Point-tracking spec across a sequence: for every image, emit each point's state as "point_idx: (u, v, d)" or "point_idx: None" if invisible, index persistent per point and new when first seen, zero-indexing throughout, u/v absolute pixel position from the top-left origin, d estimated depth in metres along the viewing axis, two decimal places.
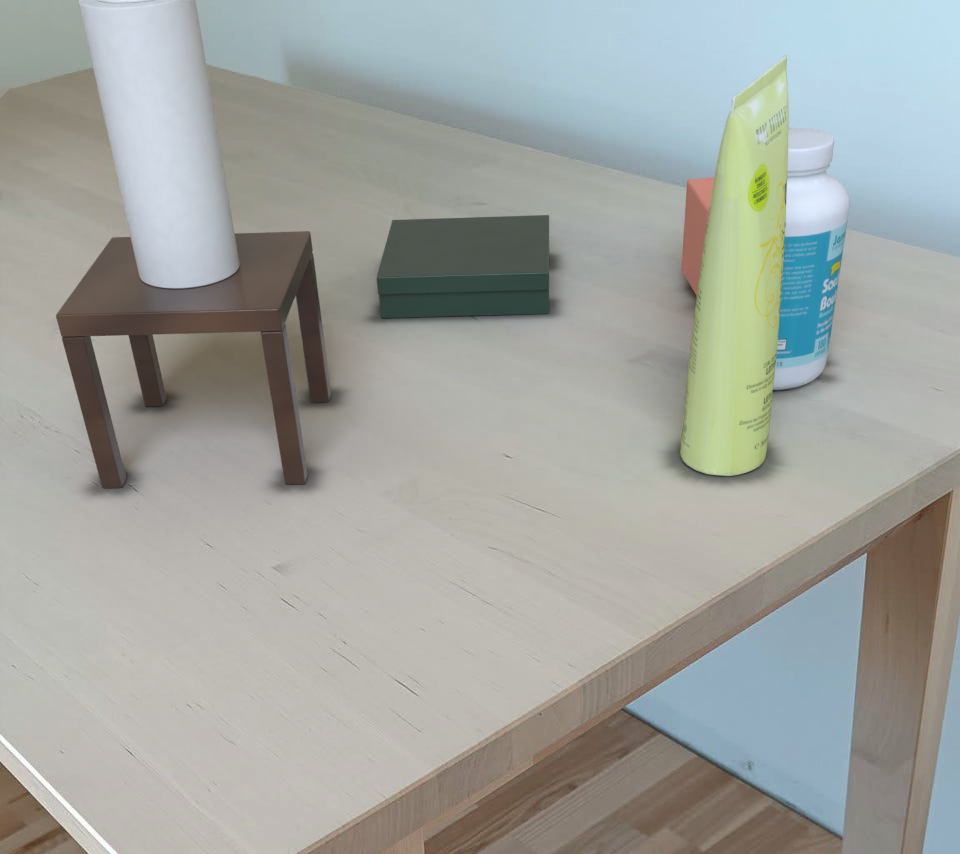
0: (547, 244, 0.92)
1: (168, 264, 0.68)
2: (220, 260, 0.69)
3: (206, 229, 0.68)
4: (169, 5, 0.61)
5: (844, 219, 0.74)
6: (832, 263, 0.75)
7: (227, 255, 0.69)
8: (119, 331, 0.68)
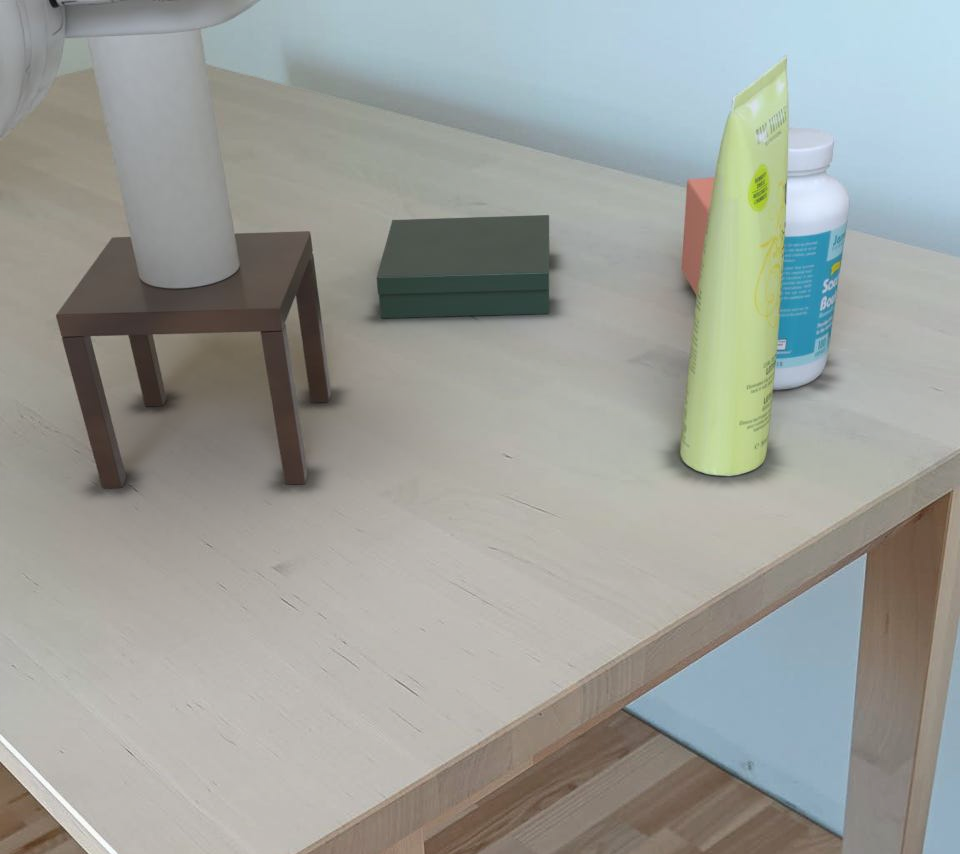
0: (547, 244, 0.92)
1: (168, 264, 0.68)
2: (220, 260, 0.69)
3: (206, 229, 0.68)
4: None
5: (844, 219, 0.74)
6: (832, 263, 0.75)
7: (227, 255, 0.69)
8: (119, 331, 0.68)
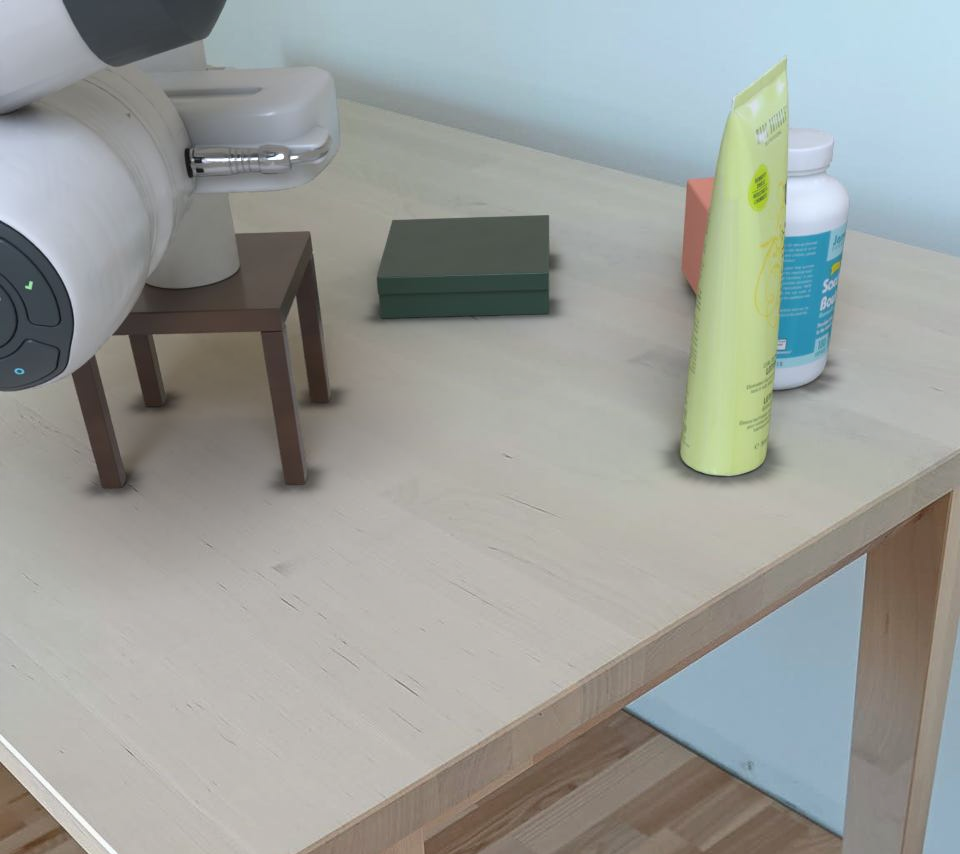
0: (547, 244, 0.92)
1: (168, 264, 0.68)
2: (220, 260, 0.69)
3: (207, 229, 0.68)
4: None
5: (844, 219, 0.74)
6: (832, 263, 0.75)
7: (227, 255, 0.69)
8: (119, 331, 0.68)
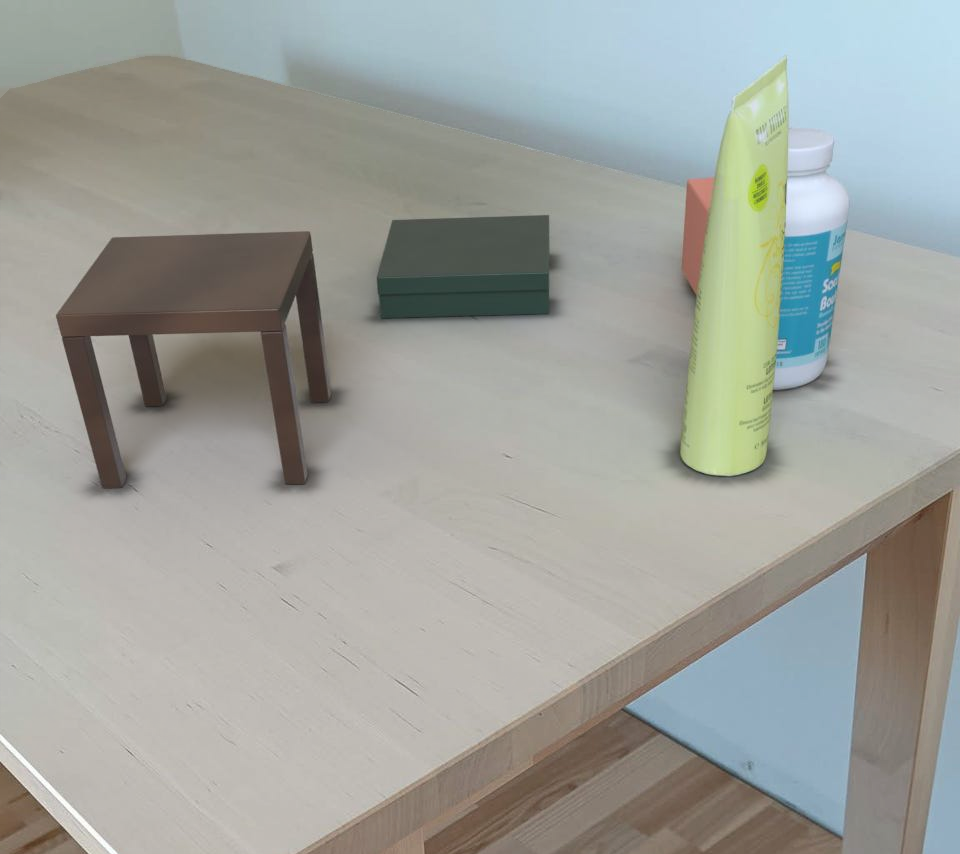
0: (547, 244, 0.92)
1: None
2: None
3: None
4: None
5: (844, 219, 0.74)
6: (832, 263, 0.75)
7: None
8: (119, 331, 0.68)
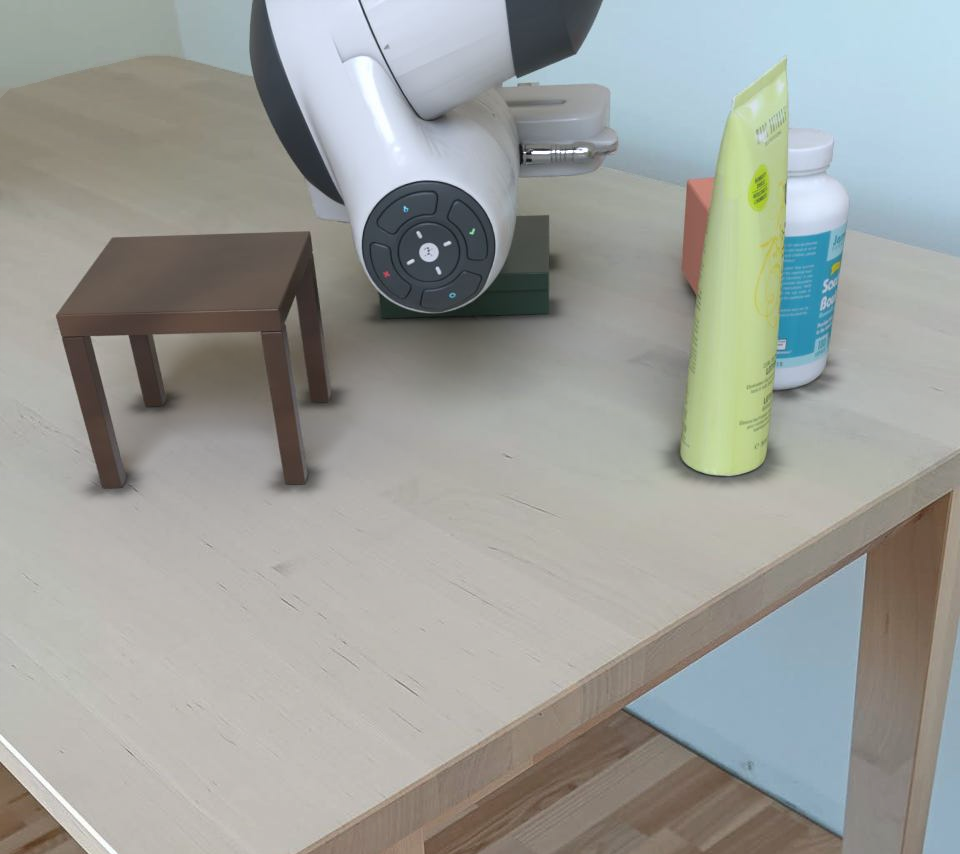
0: (547, 244, 0.92)
1: None
2: None
3: None
4: None
5: (844, 219, 0.74)
6: (832, 263, 0.75)
7: None
8: (119, 331, 0.68)
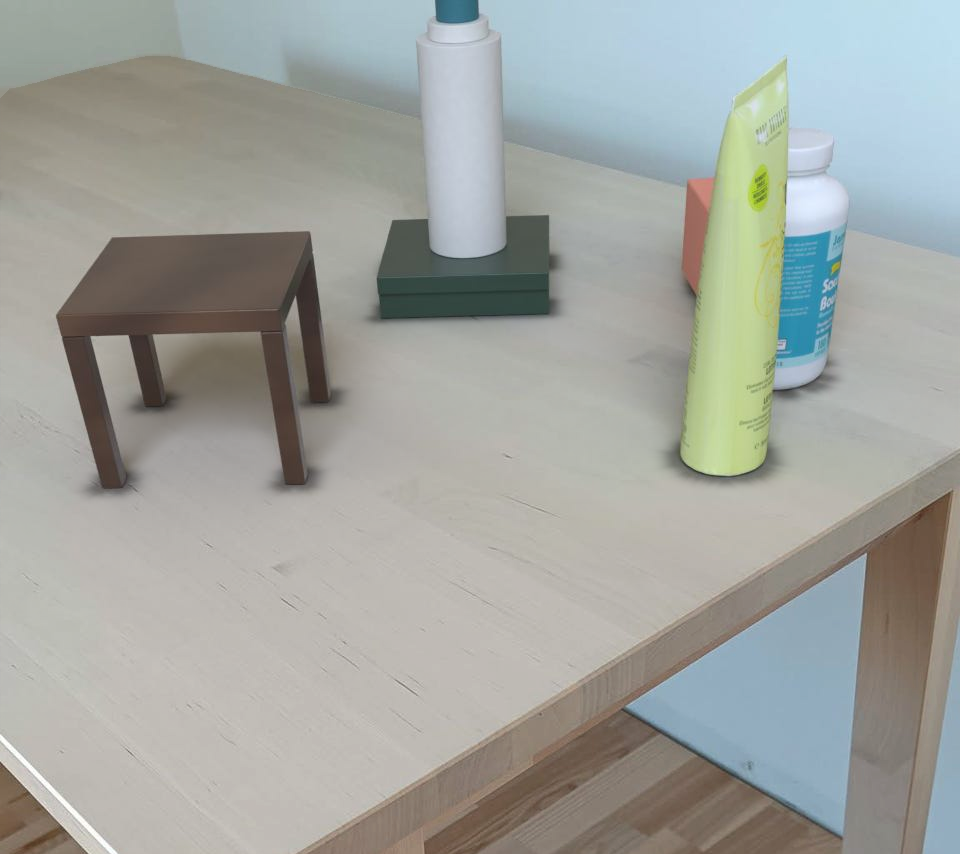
0: (547, 244, 0.92)
1: (460, 239, 0.90)
2: (497, 236, 0.90)
3: (492, 212, 0.89)
4: (488, 45, 0.82)
5: (844, 219, 0.74)
6: (832, 263, 0.75)
7: (502, 232, 0.91)
8: (119, 331, 0.68)
